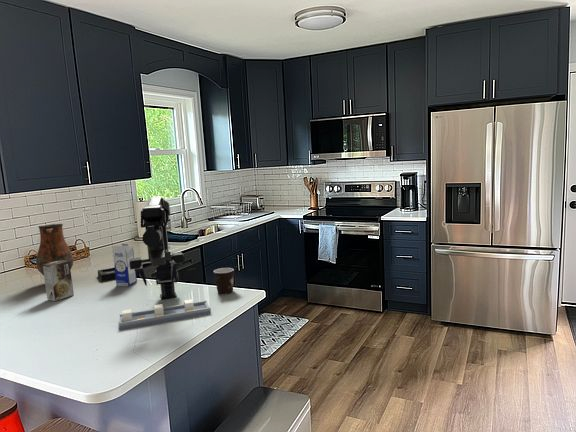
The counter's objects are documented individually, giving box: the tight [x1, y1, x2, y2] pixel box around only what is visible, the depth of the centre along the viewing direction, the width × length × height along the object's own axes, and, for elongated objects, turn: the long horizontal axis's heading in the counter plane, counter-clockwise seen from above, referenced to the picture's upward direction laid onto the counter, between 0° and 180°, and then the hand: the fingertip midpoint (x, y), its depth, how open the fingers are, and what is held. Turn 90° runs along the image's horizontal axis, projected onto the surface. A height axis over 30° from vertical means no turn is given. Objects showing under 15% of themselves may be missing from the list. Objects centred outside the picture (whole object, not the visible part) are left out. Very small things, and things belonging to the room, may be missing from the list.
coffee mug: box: [213, 267, 235, 295], centre depth 183 cm, size 12×9×10 cm
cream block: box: [183, 298, 194, 311], centre depth 162 cm, size 4×3×3 cm
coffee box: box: [43, 260, 75, 302], centre depth 191 cm, size 9×6×16 cm
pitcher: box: [35, 223, 74, 276], centre depth 214 cm, size 17×21×30 cm
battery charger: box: [97, 267, 116, 283], centre depth 222 cm, size 13×10×4 cm
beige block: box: [121, 308, 133, 322], centre depth 155 cm, size 4×3×3 cm
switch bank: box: [118, 300, 212, 331], centre depth 159 cm, size 10×32×2 cm, turn 110°
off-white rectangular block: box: [153, 303, 164, 316], centre depth 158 cm, size 4×3×3 cm
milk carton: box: [111, 243, 138, 287], centre depth 206 cm, size 7×7×20 cm
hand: (159, 283), depth 155 cm, fingers open, 9 cm apart
